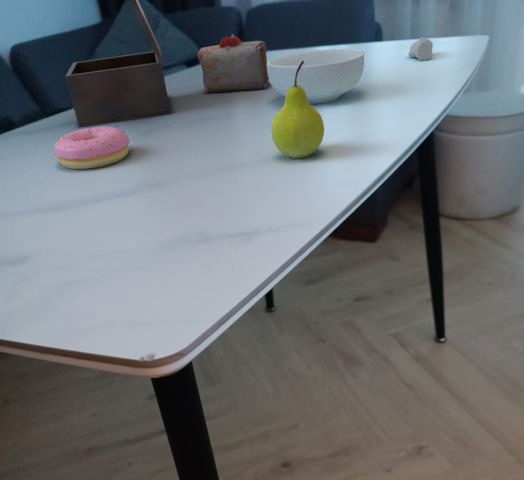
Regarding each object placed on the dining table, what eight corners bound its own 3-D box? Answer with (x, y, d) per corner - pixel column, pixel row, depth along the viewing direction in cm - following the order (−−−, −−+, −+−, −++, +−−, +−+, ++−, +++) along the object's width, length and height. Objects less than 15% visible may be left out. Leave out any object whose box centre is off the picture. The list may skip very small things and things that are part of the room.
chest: (79, 129, 107) (65, 76, 102) (85, 110, 120) (72, 62, 115) (171, 115, 108) (161, 62, 103) (167, 98, 121) (158, 50, 116)
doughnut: (43, 172, 87) (34, 143, 84) (86, 149, 95) (79, 122, 93) (106, 174, 83) (99, 143, 81) (145, 149, 91) (139, 121, 89)
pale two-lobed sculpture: (411, 62, 132) (435, 52, 130) (410, 68, 126) (434, 58, 123) (406, 41, 130) (430, 32, 128) (404, 47, 124) (429, 37, 122)
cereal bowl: (382, 91, 106) (383, 48, 102) (326, 115, 97) (324, 68, 93) (308, 86, 117) (306, 46, 113) (251, 107, 107) (246, 64, 103)
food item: (199, 96, 119) (191, 42, 114) (208, 87, 126) (201, 35, 120) (266, 91, 117) (260, 35, 111) (272, 82, 123) (267, 29, 117)
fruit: (264, 158, 81) (254, 63, 75) (302, 146, 84) (297, 53, 78) (295, 168, 77) (288, 67, 70) (335, 154, 80) (332, 56, 73)
